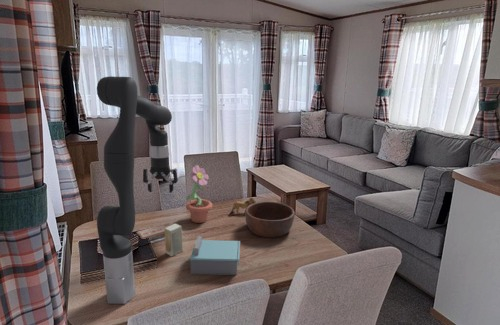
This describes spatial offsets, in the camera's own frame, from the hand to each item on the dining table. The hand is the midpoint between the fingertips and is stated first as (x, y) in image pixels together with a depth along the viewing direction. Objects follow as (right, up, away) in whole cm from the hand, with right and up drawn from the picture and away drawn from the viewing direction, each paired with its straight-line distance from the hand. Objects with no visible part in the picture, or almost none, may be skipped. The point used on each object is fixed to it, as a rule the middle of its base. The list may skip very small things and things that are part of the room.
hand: (160, 192), depth 146 cm
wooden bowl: (+48, -21, +26) cm, 59 cm away
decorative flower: (+11, -18, +34) cm, 40 cm away
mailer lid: (+25, -25, -8) cm, 36 cm away
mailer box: (+24, -29, -7) cm, 39 cm away
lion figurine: (+35, -16, +45) cm, 59 cm away
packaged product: (-7, -24, +14) cm, 28 cm away
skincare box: (+5, -27, +2) cm, 27 cm away
